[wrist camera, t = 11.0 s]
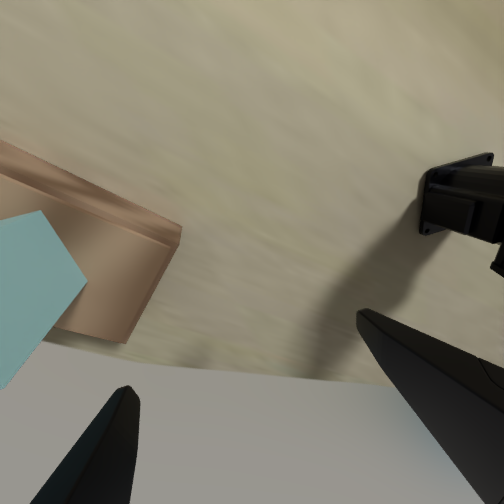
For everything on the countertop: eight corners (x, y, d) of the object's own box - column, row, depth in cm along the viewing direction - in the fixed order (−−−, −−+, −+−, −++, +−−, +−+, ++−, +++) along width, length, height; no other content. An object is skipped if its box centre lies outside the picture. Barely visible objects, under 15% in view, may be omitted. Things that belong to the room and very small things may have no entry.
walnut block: (182, 226, 18) (178, 246, 15) (136, 312, 20) (124, 348, 17) (-62, 110, 13) (-162, 97, 9) (-86, 246, 15) (-174, 278, 11)
